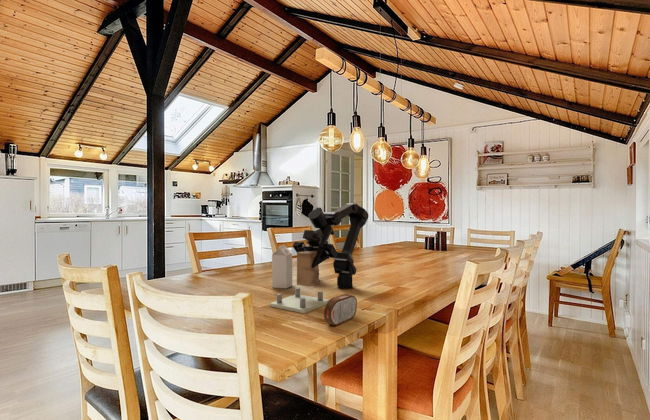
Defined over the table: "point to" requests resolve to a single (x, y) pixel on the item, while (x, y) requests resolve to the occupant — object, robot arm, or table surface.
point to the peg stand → (299, 302)
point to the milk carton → (282, 268)
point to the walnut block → (307, 269)
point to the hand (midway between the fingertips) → (305, 266)
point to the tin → (340, 309)
